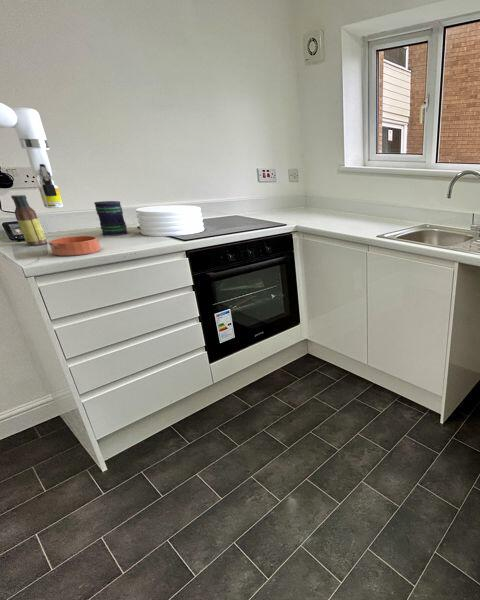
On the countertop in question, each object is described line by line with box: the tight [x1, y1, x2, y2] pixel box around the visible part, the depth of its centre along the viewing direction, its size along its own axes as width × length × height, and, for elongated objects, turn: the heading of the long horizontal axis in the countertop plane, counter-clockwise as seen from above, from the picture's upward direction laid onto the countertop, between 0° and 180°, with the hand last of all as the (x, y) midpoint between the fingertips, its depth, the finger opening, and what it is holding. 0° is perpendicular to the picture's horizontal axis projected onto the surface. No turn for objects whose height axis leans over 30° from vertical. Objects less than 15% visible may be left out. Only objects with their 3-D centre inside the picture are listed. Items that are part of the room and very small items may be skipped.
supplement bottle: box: [37, 179, 64, 209], centre depth 137 cm, size 6×6×10 cm
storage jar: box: [93, 200, 129, 237], centre depth 168 cm, size 10×10×15 cm
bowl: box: [48, 235, 102, 257], centre depth 136 cm, size 14×14×5 cm
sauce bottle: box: [10, 194, 48, 246], centre depth 143 cm, size 7×6×20 cm
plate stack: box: [135, 204, 205, 237], centre depth 180 cm, size 28×28×12 cm
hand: (50, 194), depth 137 cm, fingers closed on supplement bottle, 5 cm apart
